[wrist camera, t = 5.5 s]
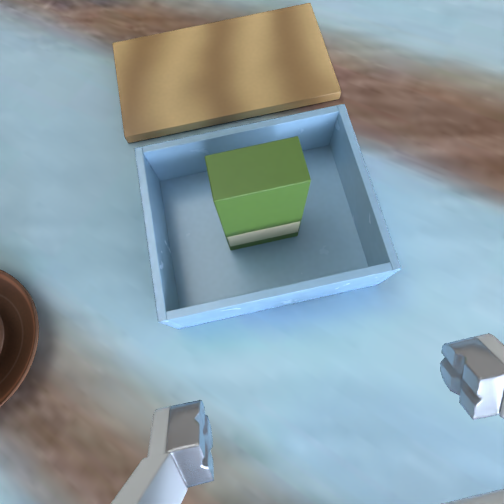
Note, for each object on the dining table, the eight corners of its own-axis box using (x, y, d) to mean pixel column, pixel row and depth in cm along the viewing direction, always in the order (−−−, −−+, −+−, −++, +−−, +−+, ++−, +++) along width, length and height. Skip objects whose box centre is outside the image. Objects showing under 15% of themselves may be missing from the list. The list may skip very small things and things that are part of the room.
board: (309, 11, 37) (310, 2, 36) (339, 99, 34) (341, 91, 33) (116, 51, 37) (112, 42, 36) (128, 143, 33) (124, 137, 32)
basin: (332, 143, 32) (344, 103, 27) (378, 284, 29) (402, 268, 24) (155, 181, 32) (133, 147, 27) (177, 329, 28) (157, 322, 23)
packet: (288, 202, 30) (298, 134, 21) (298, 236, 29) (312, 181, 20) (223, 216, 30) (203, 154, 21) (230, 251, 29) (213, 202, 20)
